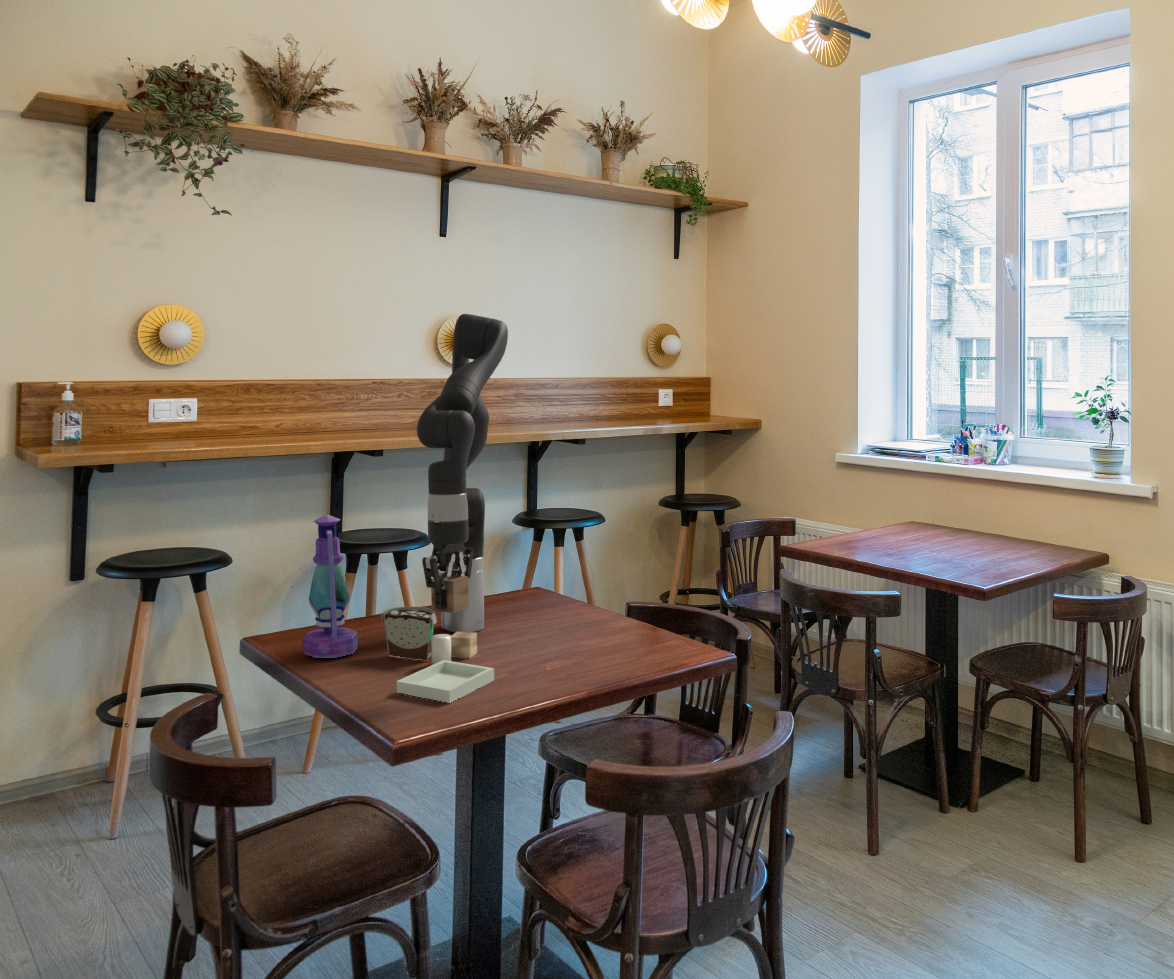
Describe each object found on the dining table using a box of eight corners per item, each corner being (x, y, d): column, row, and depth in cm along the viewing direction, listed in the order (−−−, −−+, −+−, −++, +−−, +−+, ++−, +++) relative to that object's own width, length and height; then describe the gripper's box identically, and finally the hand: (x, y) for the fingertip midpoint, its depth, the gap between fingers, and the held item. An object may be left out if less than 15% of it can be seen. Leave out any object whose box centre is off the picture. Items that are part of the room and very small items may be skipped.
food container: (447, 654, 202) (447, 608, 201) (434, 662, 197) (433, 615, 195) (397, 648, 206) (396, 604, 205) (382, 656, 201) (381, 610, 199)
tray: (396, 693, 177) (396, 681, 177) (443, 671, 190) (443, 660, 190) (449, 703, 172) (449, 690, 171) (494, 680, 185) (494, 668, 185)
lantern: (363, 658, 199) (359, 517, 196) (306, 665, 195) (301, 521, 191) (353, 642, 211) (349, 509, 208) (299, 648, 207) (294, 512, 203)
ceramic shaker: (427, 666, 194) (427, 637, 193) (439, 661, 198) (438, 633, 197) (444, 669, 192) (443, 640, 191) (455, 663, 196) (454, 635, 195)
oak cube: (450, 657, 200) (449, 637, 200) (457, 651, 205) (457, 631, 204) (470, 659, 199) (470, 638, 199) (477, 653, 204) (476, 632, 203)
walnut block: (431, 610, 178) (431, 579, 178) (446, 605, 183) (446, 574, 182) (453, 613, 176) (453, 581, 175) (468, 607, 180) (468, 576, 180)
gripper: (452, 511, 186) (454, 596, 187) (408, 520, 173) (410, 612, 174) (485, 513, 182) (486, 600, 184) (442, 523, 169) (444, 616, 171)
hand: (449, 605), depth 179 cm, fingers closed on walnut block, 5 cm apart
